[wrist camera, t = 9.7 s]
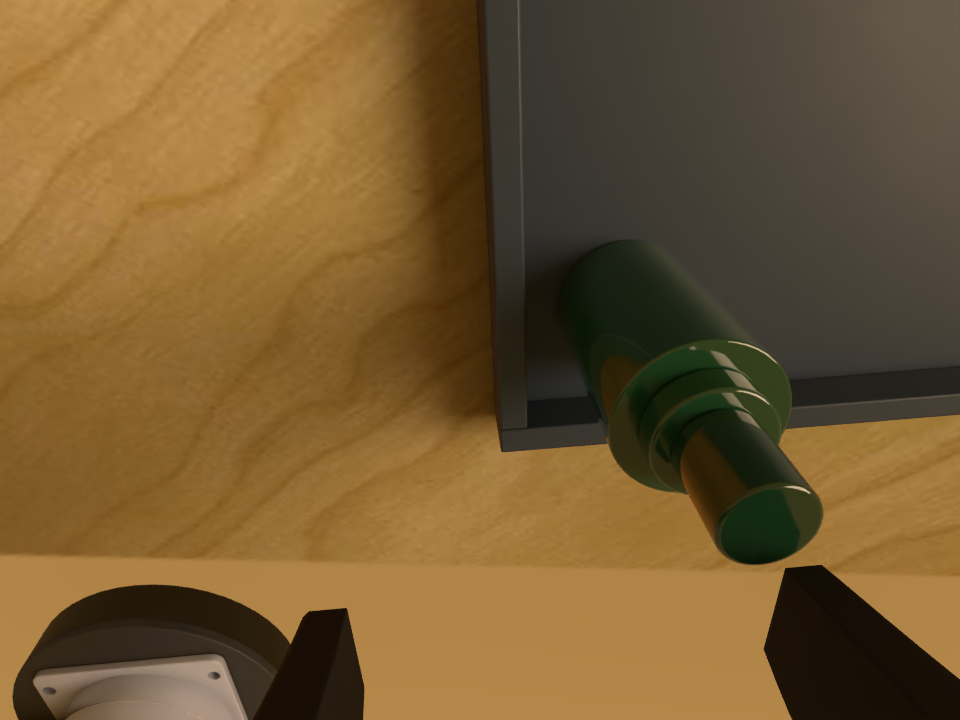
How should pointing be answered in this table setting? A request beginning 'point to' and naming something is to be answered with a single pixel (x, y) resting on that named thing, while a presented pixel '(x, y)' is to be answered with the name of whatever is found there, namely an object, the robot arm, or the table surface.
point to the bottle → (688, 398)
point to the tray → (730, 189)
